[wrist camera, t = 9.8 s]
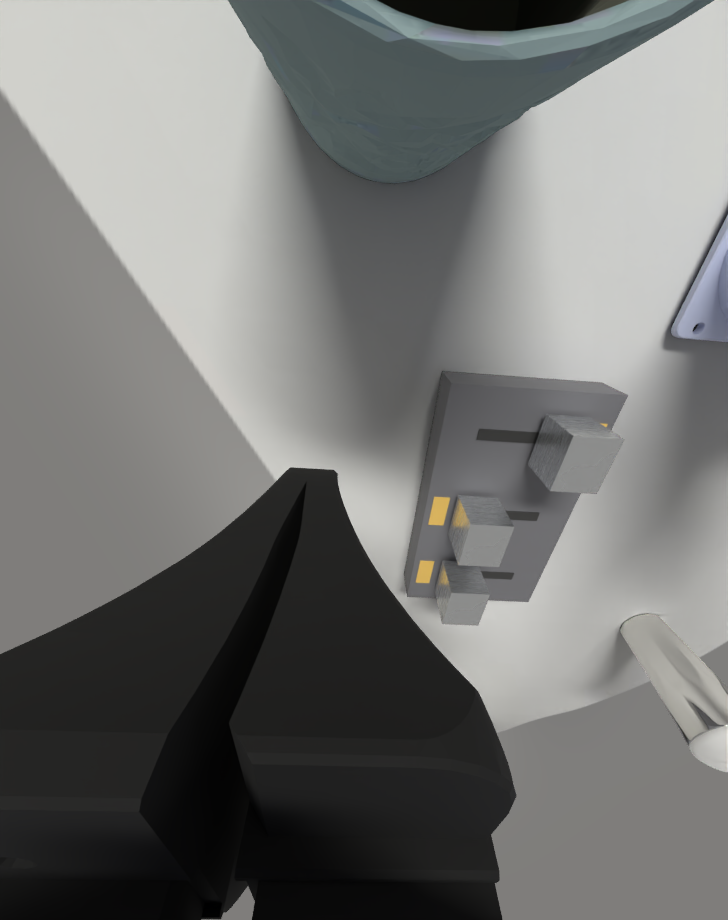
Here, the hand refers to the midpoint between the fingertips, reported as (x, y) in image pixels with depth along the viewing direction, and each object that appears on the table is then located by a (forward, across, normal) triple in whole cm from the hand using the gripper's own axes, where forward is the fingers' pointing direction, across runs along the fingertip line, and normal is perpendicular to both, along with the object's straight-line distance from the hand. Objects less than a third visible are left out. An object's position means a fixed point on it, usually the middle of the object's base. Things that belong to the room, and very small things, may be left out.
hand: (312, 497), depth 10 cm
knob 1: (+7, -8, +6) cm, 13 cm away
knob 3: (+7, -11, +1) cm, 14 cm away
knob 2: (+7, -8, +11) cm, 16 cm away
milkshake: (+10, -26, +18) cm, 33 cm away
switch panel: (+9, -10, +6) cm, 15 cm away
